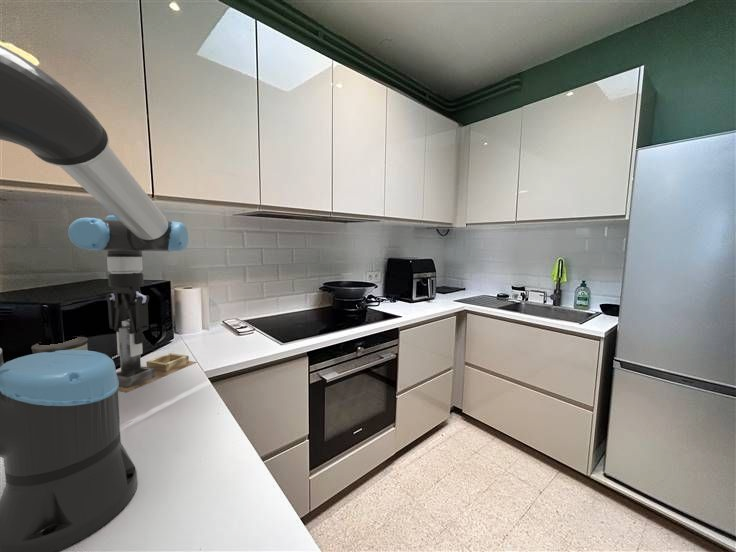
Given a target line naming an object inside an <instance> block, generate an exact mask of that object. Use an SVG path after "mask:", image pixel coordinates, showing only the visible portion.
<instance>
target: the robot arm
mask: <svg viewBox="0 0 736 552" xmlns="http://www.w3.org/2000/svg"><path fill="white" fill-rule="evenodd" d="M0 141H4V142H9V143H11V144H12V143H13V144H15V145H18V146H20V147H24V148H26V149H28V150H29V151H30V152H32V153H33V154H34V156H36V157H38V158H39V159H41V160H42V161H44V162H45V163H47V164H50V165H53V166H57V167H60V168H61V169H62V171H64V172H65V173H66V174H67V175H68V176H69V177H71V179H72V180H74V181H75V182H76V183H77V184H78V185H80V187H81V188H83V189H84V190H85V191H86V192H87V193H88V194H89V195H90V196H91V197H93V199H95V200H96V201H97V202H98V203H99V204H101V206H103V207H104V209H106V210H107V211H108V212H109V213H110V214H111V215H107V216H106V217H105V218H104V219H101V218H98V217H81V218H77V219H75V220H74V221H72V223H71V224H70V225H69V227H68V231H67V234H68V238H69V240H70V242H71V243H72V244H73V245H74V246H76V247H77V248H79V249H81V250H82V249H83V250H87V251H88V250H89V251H92V252H96V251H97V252H99V251H104V252H105V251H106V260H107V263H106V264H107V271H108V272H109V273H108V275H107V278H108V279H107V280H108V286H109V287H110V288H113V291H112V293H108V294H106V295H105V297H106V302H107V309H108V310H107V311H108V323H109V324H108V325H109V326H108V327H109V329H111V330H112V329H113V330H114V332H115V334H116V335H115V336H116V345H117V346H116V347H117V348H116V349H117V355H119V356H120V344H119V328H120V327H122V320H126V319H129V320H130V325H131V330H132V332H129V333H130V352H131V357H133V356H136V355H140V356H141V355H142V354H143V352H144V351H143V341H144V340H143V333H144V331H147V330H149V329H150V327H149V326H150V325H149V301H150V296H149V295H148V294H147V295H146V294H145V295H144V294H142V291H141V287H142V286H144V281H145V280H144V273H142V271H143V270H144V269H143V252H168V253H170V252H181V251H184V250H185V249H186V248H187V247H188V244H189V232H188V228H187V227H186V225H185V223H184V222H180V221H174V220H171V221H169V220H168V219H167V217H165V215H164V213H162V211H161V210H160V209H159V207H158V206H157V205H156V204H155V202H154V201H153V200H152V199H151V197H150V196H149V195H148V194H147V192H146V191H145V189H143V187H142V186H141V184H140V183H139V182H138V181H137V180H136V178H135V177H134V176H133V174H132V173H131V172H130V170H128V168H127V167H126V165H124V163H123V162H122V160H121V159H120V158H119V157H118V156H117V154H116V153H115V152H114V150H113V148H111V146H110V145H109V144H110V143H109V142H110V140H109V134H108V132H107V131H106V129H105V128H104V126H103V125H102V124H101V122H100V121H99V120H98V119H97V118H96V116H95V115H94V114H93V112H91V111H90V110H89V108H88V107H87V106H86V105H85V104H84V103H83V102H82V101H80V100H79V99H78V97H76V96H75V95H74V94H73V93H72V92H71V91H69V90H68V88H66V87H65V86H63V85H62V84H61V83H60V82H59V81H58V80H56V79H55V78H54V77H52V76H51V75H49V74H48V73H47V72H46V71H44V70H42V68H40V67H38V65H35V64H34V63H32V62H31V61H30V60H27V59H26V58H24V57H23V56H21V55H19V54H18V53H16V52H14V51H12V50H10V49H8V48H7V47H4V46H3V45H1V44H0ZM115 364H116V363H115V362H114V360H113V359H112V358H111V357H109V355H107V354H106V353H102V352H100V351H93V350H60V351H55V352H42V353H36V354H33V353H32V354H27V355H24V356H20V357H17V358H14V359H12V360H8V361H5V362H4V355H3V348H1V347H0V458H2V460H3V465H4V476H5V486H4V489H3V491H2V495H1V497H0V552H58V551H61V550H63V549H65V548H67V547H70V546H72V545H74V544H75V543H77V542H80V541H81V540H83V539H84V538H87V537H88V536H89V535H91V534H94V533H95V532H96V531H98V530H99V529H101V528H102V527H103V526H104V525H106V524H108V523H109V522H110V521H111V520H113V519H114V518H115V517H116V516H117V515H118V514H119V513H121V511H123V509H124V508H125V507H127V505H128V503H130V501H131V500H132V498H133V497H134V496H135V493H136V490H137V488H138V473H137V472H138V471H137V467H136V466H135V464H134V462H133V460H132V458H131V457H130V455H129V453H128V451H126V448H125V447H124V445H123V444H122V440H121V427H120V426H121V425H120V424H121V423H120V404H119V403H120V402H119V391H118V386H119V381H118V378H117V374H116V372H117V370H116V365H115Z"/></svg>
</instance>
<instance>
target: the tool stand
mask: <svg viewBox="0 0 736 552" xmlns="http://www.w3.org/2000/svg"><path fill="white" fill-rule="evenodd" d="M145 362H146V366H142V365H141V367H140V368H138V369H136V370H132V371H121V370H120V371H116V374H117V378H118V381H119V386H118V392H122V393H123V392H124V393H128V392H130V391H134V390H135V389H138V388H140V387H143V386H145V385H147V384H150V383H152V382H154V381H155V382H156V380H159V379H161V378H163V377H167V376H168V375H170V374H171V375H172V374H173V373H175V372H178V371H181V370H182V369H185V368H188V367H189V366H192V365H195V364H197V363H198V361H193V360H192V361H191V360H190V358H189V355H187V354H186V355H184V354H178V353H173V352H172V353H168V354H164V355H161V356H159V357H156V358H153V359H149V360H148V361H145Z"/></svg>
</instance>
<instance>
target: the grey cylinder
mask: <svg viewBox="0 0 736 552" xmlns="http://www.w3.org/2000/svg"><path fill="white" fill-rule="evenodd" d="M129 332H132V330H131V325H130V320H129V318H127V319H126V320H122V327H120V328H119V344H120V355H119V361H120V371H132V370H136V369H138V368H140V367H141V366H142V365H141V361H142V360H141V354H140V355H136V356H133V357H131V352H130V333H129Z"/></svg>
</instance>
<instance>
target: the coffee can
mask: <svg viewBox="0 0 736 552" xmlns="http://www.w3.org/2000/svg"><path fill="white" fill-rule="evenodd" d="M76 337H77V338H75V339H72V340H69V341H66V342H63V343H58V344H50V345H39V344H38V343H35V344H33V345H32V346H31V347H30V348H31V352H32V354H36V353H42V352H55V351H60V350H88V341H89V339H88V337H86V336H76ZM88 351H89V350H88Z"/></svg>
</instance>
